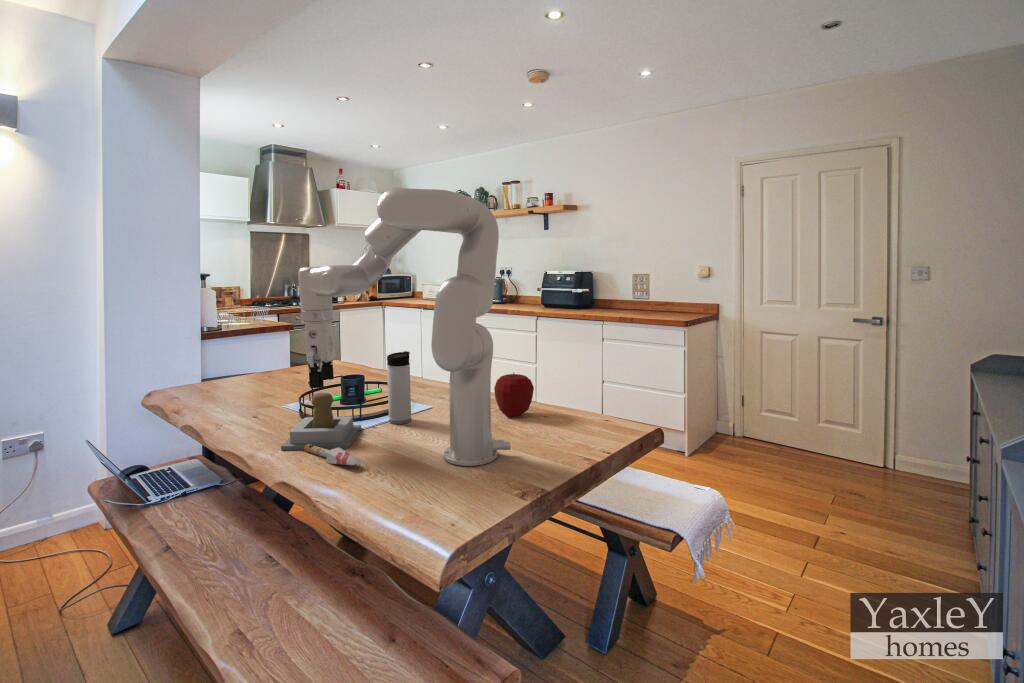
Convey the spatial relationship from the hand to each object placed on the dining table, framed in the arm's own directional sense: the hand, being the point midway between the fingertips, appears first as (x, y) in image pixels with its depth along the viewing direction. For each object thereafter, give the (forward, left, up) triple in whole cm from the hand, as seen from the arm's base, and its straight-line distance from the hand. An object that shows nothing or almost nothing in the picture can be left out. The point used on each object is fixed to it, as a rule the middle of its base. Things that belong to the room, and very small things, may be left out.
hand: (322, 383), depth 136 cm
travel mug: (-18, -14, -15) cm, 27 cm away
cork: (0, 0, -14) cm, 14 cm away
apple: (-51, -17, -15) cm, 55 cm away
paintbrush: (-5, +15, -15) cm, 22 cm away
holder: (0, 0, -15) cm, 15 cm away
